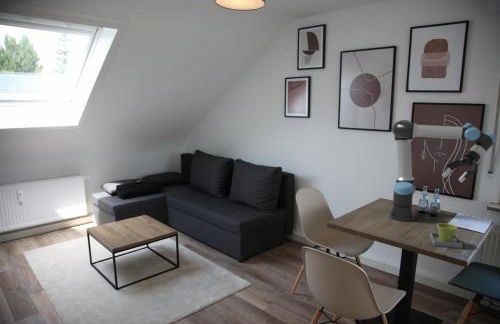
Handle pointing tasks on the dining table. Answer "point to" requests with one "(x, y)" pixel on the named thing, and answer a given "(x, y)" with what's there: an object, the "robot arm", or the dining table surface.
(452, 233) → the plant pot
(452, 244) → the tray
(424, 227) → the dining table surface
